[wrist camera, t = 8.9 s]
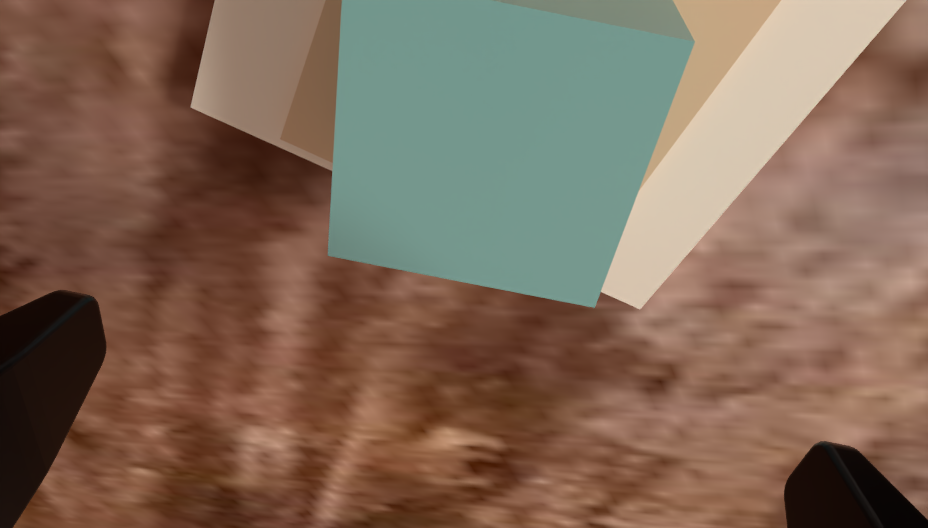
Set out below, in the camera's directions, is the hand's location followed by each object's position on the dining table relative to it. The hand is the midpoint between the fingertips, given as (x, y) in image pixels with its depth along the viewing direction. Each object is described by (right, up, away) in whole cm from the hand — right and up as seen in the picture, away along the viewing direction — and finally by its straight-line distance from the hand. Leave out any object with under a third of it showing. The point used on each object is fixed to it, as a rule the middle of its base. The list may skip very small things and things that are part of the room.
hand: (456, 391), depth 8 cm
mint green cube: (+1, +6, +8) cm, 10 cm away
